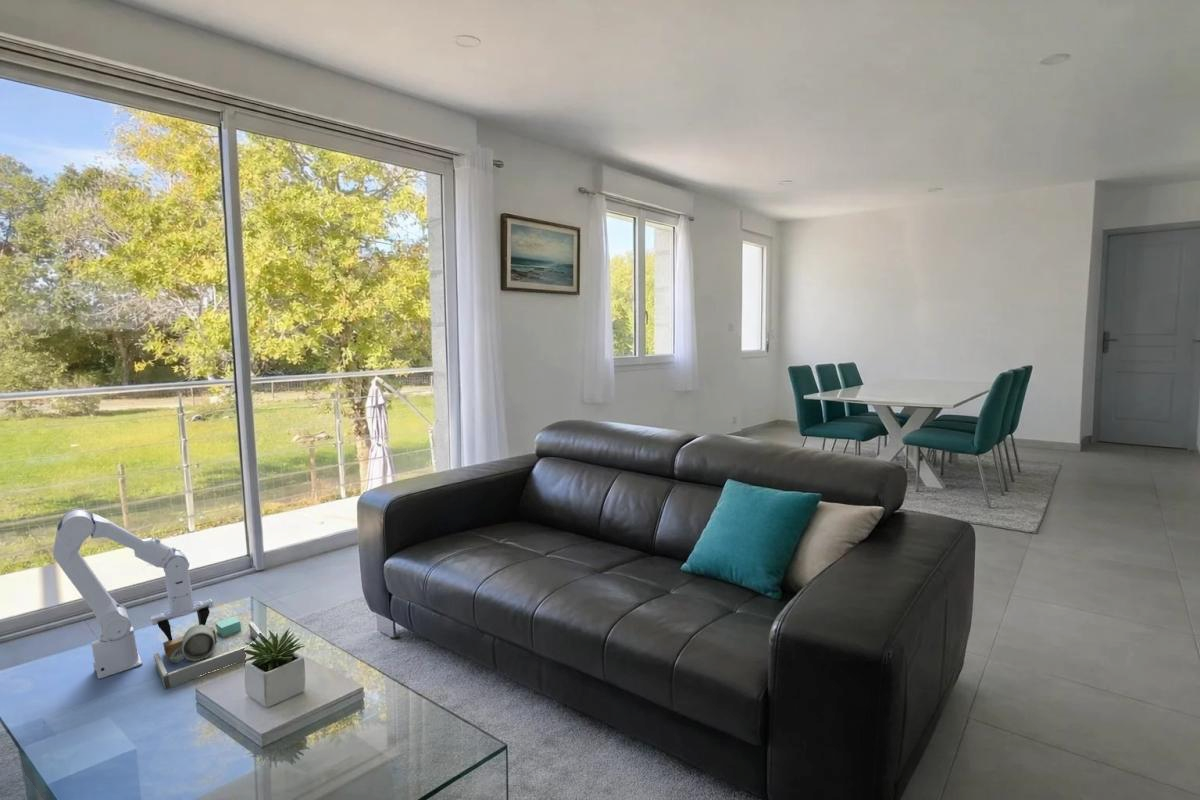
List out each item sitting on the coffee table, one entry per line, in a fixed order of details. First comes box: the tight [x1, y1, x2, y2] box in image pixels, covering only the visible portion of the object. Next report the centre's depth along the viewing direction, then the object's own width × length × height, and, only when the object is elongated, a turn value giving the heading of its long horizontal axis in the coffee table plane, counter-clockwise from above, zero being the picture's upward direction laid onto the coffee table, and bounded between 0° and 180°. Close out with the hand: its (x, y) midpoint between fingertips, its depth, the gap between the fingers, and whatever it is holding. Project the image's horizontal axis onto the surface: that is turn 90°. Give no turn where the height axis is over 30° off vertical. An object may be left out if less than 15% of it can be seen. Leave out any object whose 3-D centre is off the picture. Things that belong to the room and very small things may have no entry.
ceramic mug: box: [169, 624, 216, 664], centre depth 176 cm, size 11×8×8 cm
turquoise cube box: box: [215, 615, 242, 638], centre depth 189 cm, size 5×5×3 cm
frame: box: [153, 621, 263, 690], centre depth 174 cm, size 24×15×4 cm, turn 132°
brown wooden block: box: [162, 626, 217, 659], centre depth 180 cm, size 12×3×4 cm, turn 132°
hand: (187, 639), depth 182 cm, fingers open, 7 cm apart
